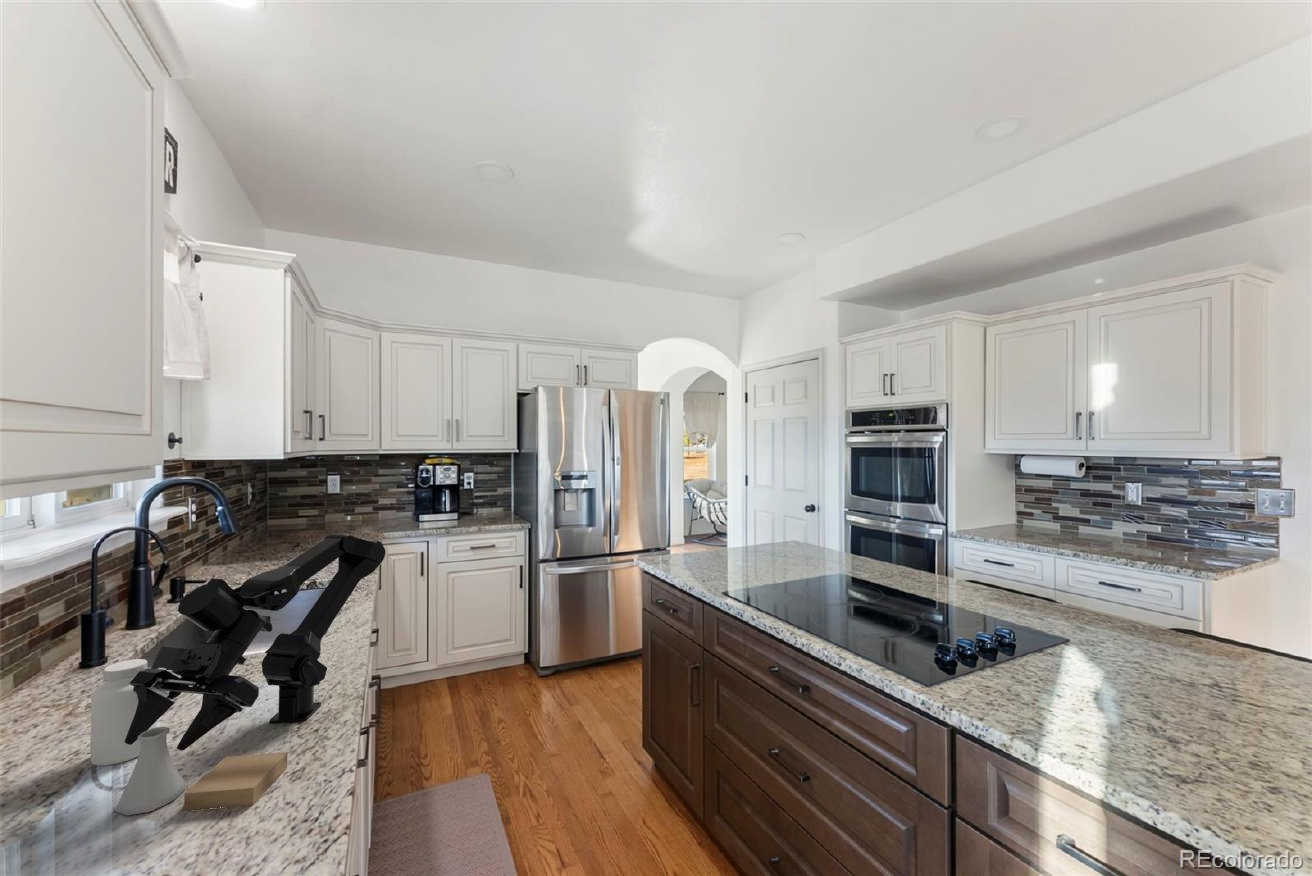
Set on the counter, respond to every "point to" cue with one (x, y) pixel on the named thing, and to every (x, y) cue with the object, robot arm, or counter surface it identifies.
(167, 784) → the flask
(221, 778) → the square wooden block
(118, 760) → the pill bottle
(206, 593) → the robot arm
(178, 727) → the counter surface
